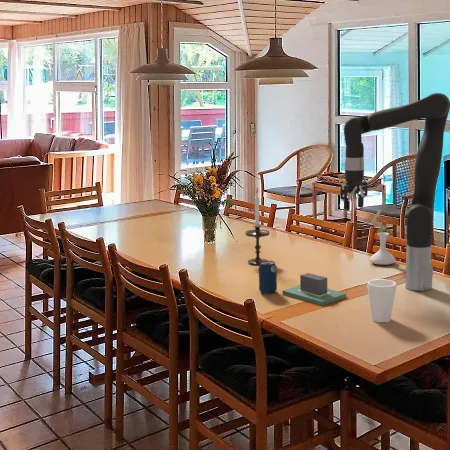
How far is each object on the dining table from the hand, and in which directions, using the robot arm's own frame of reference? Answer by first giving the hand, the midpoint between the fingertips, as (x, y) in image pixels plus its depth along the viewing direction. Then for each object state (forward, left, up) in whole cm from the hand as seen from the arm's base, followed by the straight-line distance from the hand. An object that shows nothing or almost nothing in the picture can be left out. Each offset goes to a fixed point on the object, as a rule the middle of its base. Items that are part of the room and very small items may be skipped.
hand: (353, 208), depth 272 cm
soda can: (+14, +35, -30) cm, 48 cm away
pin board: (-2, +26, -30) cm, 40 cm away
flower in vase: (+8, -30, -30) cm, 43 cm away
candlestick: (+49, +7, -30) cm, 58 cm away
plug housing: (-2, +26, -28) cm, 39 cm away
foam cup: (-36, +30, -30) cm, 56 cm away
